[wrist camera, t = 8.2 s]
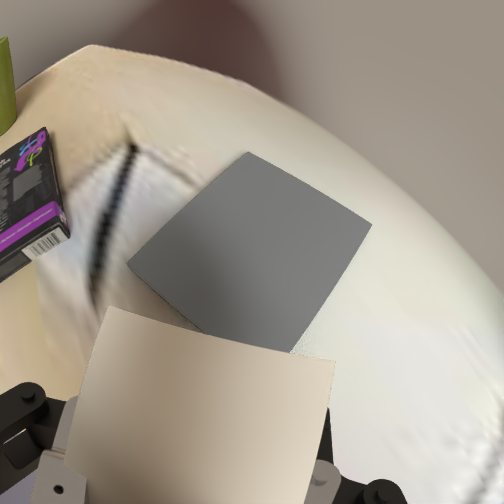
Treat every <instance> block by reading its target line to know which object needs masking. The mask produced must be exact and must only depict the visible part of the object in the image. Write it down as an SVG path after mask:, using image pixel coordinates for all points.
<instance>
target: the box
mask: <svg viewBox="0 0 504 504" xmlns="http://www.w3.org/2000/svg"><path fill="white" fill-rule="evenodd" d="M69 238H70V232H69V228H68V225H67V221H66V217H65V212H64V208H63V204H62V199H61V195H60V190H59V185H58V180H57V175H56V169H55V163H54V157H53V150H52V143H51V138H50V136H49V134H48V131H47V129H46V127H43V128H41V129H40V130H38V131H37V132H35V133H33V134H32V135H30V136H28V137H27V138H25V139H24V140H22V141H20V142H19V143H17V144H15V145H14V146H12V147H11V148H9V149H8V150H6V151H5V152H4V153H2V154H1V155H0V283H1V282H2V281H4V280H5V279H7V278H8V277H9V276H11V275H12V274H14V273H15V272H17V271H18V270H20V269H21V268H23V267H24V266H26V265H27V264H28V263H30V262H31V261H33V260H35V259H36V258H38V257H39V256H41V255H42V254H44V253H46V252H47V251H49V250H50V249H52V248H54V247H55V246H57V245H59V244H60V243H62V242H64V241H65V240H67V239H69Z"/></svg>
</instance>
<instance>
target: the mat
mask: <svg viewBox="0 0 504 504" xmlns="http://www.w3.org/2000/svg"><path fill="white" fill-rule="evenodd" d="M371 226H372V224H371V223H369V222H368V221H366V220H365V219H363V218H362V217H360V216H359V215H357V214H355V213H354V212H352V211H351V210H349V209H348V208H346V207H344V206H343V205H341V204H340V203H338V202H336V201H335V200H333V199H331V198H330V197H328V196H326V195H325V194H323V193H321V192H320V191H318V190H316V189H315V188H313V187H311V186H310V185H308V184H306V183H304V182H303V181H301V180H299V179H298V178H296V177H294V176H292V175H290V174H289V173H287V172H285V171H283V170H282V169H280V168H278V167H276V166H274V165H272V164H271V163H269V162H267V161H265V160H263V159H261V158H259V157H258V156H256V155H254V154H252V153H250V152H247V153H246V154H245V155H243V156H242V157H241V158H240V159H239V160H237V161H236V162H235V163H234V164H233V165H232V166H230V167H229V168H228V169H227V170H226V171H225V172H223V173H222V174H221V175H220V176H219V177H218V178H216V179H215V180H214V181H213V182H212V183H211V184H210V185H208V186H207V187H206V188H205V189H204V190H203V191H202V192H201V193H199V194H198V195H197V196H196V197H195V198H194V199H193V200H192V201H191V202H189V203H188V204H187V205H186V206H185V207H184V208H183V209H182V210H181V211H180V212H179V213H178V214H176V215H175V216H174V217H173V218H172V219H171V220H170V221H169V222H168V223H167V224H166V225H165V226H164V227H163V228H162V229H161V230H160V231H159V232H157V233H156V234H155V235H154V236H153V237H152V238H151V239H150V240H149V241H148V242H147V243H146V244H145V245H144V246H143V247H142V248H141V249H140V250H139V251H138V252H137V253H136V254H135V255H134V256H133V257H132V258H131V259H130V260H129V261H128V262H127V263H126V264H127V265H128V267H129V268H130V269H131V270H132V271H133V272H134V273H135V274H136V275H137V276H138V277H139V278H140V279H142V280H143V281H144V282H145V283H146V284H147V285H148V286H149V287H150V288H152V289H153V290H154V291H155V292H156V293H157V294H158V295H160V296H161V297H162V298H163V299H164V300H165V301H166V302H168V303H169V304H170V305H171V306H172V307H173V308H175V309H176V310H177V311H178V312H179V313H181V314H182V315H183V316H184V317H185V318H187V319H188V320H189V321H190V322H191V323H193V324H194V325H195V326H196V327H198V328H199V329H200V330H201V331H202V332H204V333H205V334H207V335H211V336H215V337H219V338H223V339H227V340H231V341H235V342H239V343H243V344H248V345H252V346H257V347H261V348H266V349H271V350H276V351H281V352H286V353H289V352H290V351H291V350H292V348H293V347H294V346H295V344H296V343H297V341H298V340H299V339H300V337H301V336H302V334H303V333H304V332H305V330H306V329H307V327H308V326H309V324H310V323H311V321H312V320H313V319H314V317H315V316H316V314H317V313H318V311H319V310H320V308H321V307H322V305H323V304H324V302H325V301H326V299H327V298H328V296H329V295H330V293H331V292H332V290H333V288H334V287H335V285H336V284H337V282H338V281H339V279H340V278H341V276H342V274H343V273H344V271H345V270H346V268H347V266H348V265H349V263H350V262H351V260H352V258H353V257H354V255H355V253H356V252H357V250H358V248H359V247H360V245H361V243H362V242H363V240H364V238H365V237H366V235H367V233H368V231H369V230H370V228H371Z"/></svg>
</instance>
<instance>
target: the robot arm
mask: <svg viewBox="0 0 504 504" xmlns="http://www.w3.org/2000/svg"><path fill="white" fill-rule="evenodd" d="M78 397H79V396H75V397H73V398H71V399H69V400H68V401H67V402H66V401H61V400H56V399H52V398H48V397H46V394H45V391H44V389H43V388H42V387H41V386H40V385H38V384H36V383H32V382H25V383H21V384H19V385H17V386H15V387H14V388H12V389H10V390H8V391H7V392H5V393H3V394H1V395H0V495H1V494H2V493H4V492H5V491H6V490H8V489H9V488H11V487H12V486H14V485H15V484H16V483H18V482H19V481H21V480H22V479H23V478H25V477H26V476H28V475H29V474H30V473H31V472H33V471H34V470H36V469H37V468H38V469H37V474H36V478H35V482H34V486H33V491H32V496H31V501H30V504H90V502H89V494H88V484H87V478H85V477H83V476H82V475H80V474H78V473H76V472H74V471H73V470H71V469H69V468H68V467H66V466H64V465H63V463H64V458H65V453H66V448H67V443H68V438H69V433H70V429H71V425H72V420H73V416H74V412H75V408H76V404H77V401H78ZM24 429H26V430H25V431H24V432H22V433H20V434H19V435H17V436H16V437H14V438H13V439H12V440H10V441H8V442H7V443H5V444H4V442H6V441H7V440H8V439H10V438H11V437H13V436H15V435H16V434H18V433H19V432H21V431H22V430H24ZM330 430H331V424H330V412H329V408H328V407H327V412H326V417H325V422H324V427H323V431H322V436H321V440H320V444H319V448H318V453H317V457H316V461H315V465H314V468H313V472H312V476H311V480H310V483H309V487H308V490H307V494H306V497H305V500H304V504H408V503H407V501H406V499H405V497H404V495H403V493H402V491H401V489H400V488H399V486H398V485H397V484H395V483H394V482H392V481H390V480H386V479H378V480H374V481H372V482H370V483H369V484H368V485H365V484H362V483H358V482H355V481H352V480H349V479H347V478H345V477H343V476H342V475H341V474H340V472H339V470H338V469H337V468H336V467H335V466H334V463H333V452H332V437H331V431H330ZM3 444H4V445H3Z"/></svg>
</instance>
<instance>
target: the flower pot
mask: <svg viewBox="0 0 504 504" xmlns="http://www.w3.org/2000/svg"><path fill="white" fill-rule="evenodd" d="M16 118H17V111H16V97H15V86H14V76H13V68H12V60H11V54H10V48H9V42H8V36H4V37H2V38H0V136H1V135H2V134H3V133H4V132H6V131H7V130H8V129H9V128H10V127H11V126H12V124H13V123H14V122H15V120H16Z"/></svg>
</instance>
